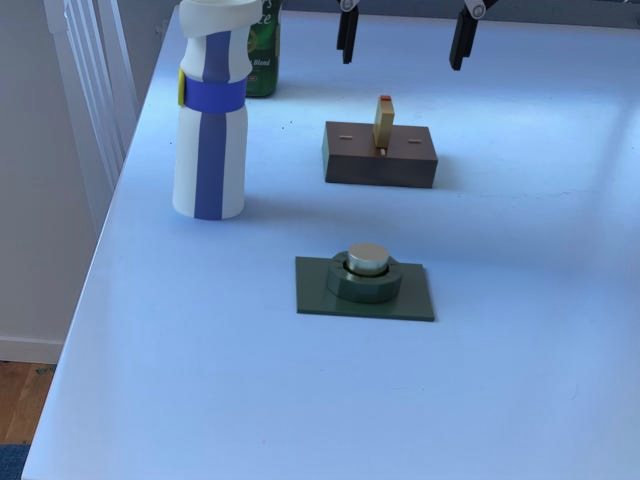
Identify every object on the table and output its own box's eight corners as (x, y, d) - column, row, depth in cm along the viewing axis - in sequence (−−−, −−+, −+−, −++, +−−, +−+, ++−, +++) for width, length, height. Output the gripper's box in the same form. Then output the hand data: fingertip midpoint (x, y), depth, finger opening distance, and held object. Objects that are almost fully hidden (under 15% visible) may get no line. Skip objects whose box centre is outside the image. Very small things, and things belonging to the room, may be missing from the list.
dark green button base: (417, 285, 90) (427, 245, 87) (428, 340, 84) (440, 298, 81) (292, 278, 91) (297, 237, 88) (294, 331, 84) (300, 289, 81)
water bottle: (166, 221, 98) (175, -73, 80) (170, 187, 104) (178, -95, 85) (245, 224, 98) (272, -70, 80) (244, 190, 104) (269, -92, 85)
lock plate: (422, 153, 112) (428, 125, 110) (431, 188, 105) (438, 158, 103) (321, 147, 113) (325, 119, 110) (324, 182, 106) (329, 152, 104)
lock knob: (388, 148, 105) (395, 111, 102) (375, 147, 105) (382, 110, 102) (384, 131, 108) (391, 94, 106) (372, 130, 108) (379, 94, 106)
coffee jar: (202, 95, 123) (211, -80, 110) (209, 75, 129) (219, -94, 115) (275, 101, 123) (294, -74, 109) (280, 81, 128) (298, -89, 114)
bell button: (383, 262, 86) (387, 243, 84) (386, 281, 83) (390, 262, 82) (344, 260, 86) (347, 241, 84) (346, 279, 83) (349, 259, 82)
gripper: (335, -187, 70) (303, 70, 82) (571, -177, 69) (503, 82, 82) (333, -201, 75) (304, 44, 87) (553, -191, 74) (491, 55, 87)
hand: (400, 62), depth 85 cm, fingers open, 9 cm apart
